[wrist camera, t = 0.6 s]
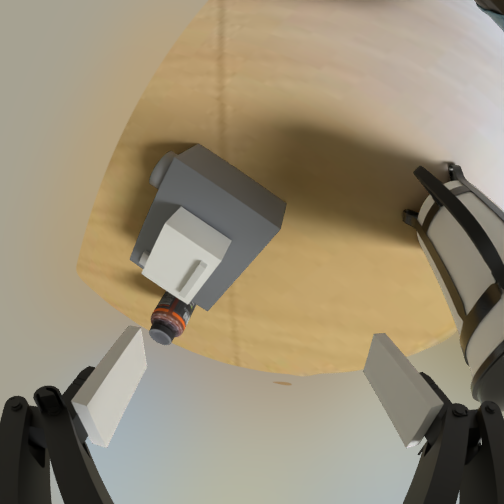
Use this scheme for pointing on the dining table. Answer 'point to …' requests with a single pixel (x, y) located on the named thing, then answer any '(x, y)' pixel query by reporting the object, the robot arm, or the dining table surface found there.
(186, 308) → the supplement bottle
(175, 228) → the hatch door
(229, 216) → the gray box
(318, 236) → the dining table surface
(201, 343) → the dining table surface
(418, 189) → the dining table surface
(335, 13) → the dining table surface
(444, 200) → the coffee press
